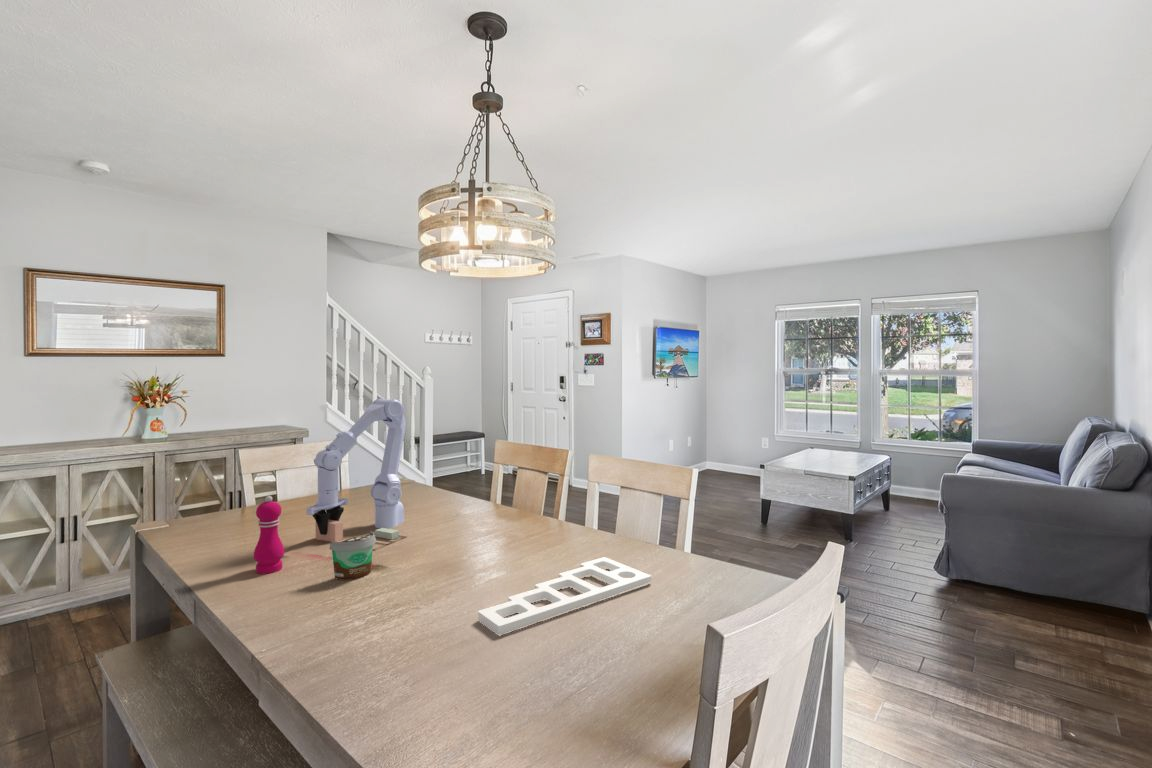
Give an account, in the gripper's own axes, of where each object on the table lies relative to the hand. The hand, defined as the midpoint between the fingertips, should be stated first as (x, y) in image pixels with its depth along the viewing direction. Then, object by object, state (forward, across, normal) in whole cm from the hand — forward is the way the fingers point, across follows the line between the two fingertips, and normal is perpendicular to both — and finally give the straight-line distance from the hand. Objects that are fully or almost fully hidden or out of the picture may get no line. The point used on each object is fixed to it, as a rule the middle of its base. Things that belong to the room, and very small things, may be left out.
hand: (328, 532), depth 172 cm
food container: (+4, +17, +28) cm, 33 cm away
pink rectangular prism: (+3, 0, 0) cm, 3 cm away
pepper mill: (+4, +23, +3) cm, 23 cm away
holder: (+4, +8, +82) cm, 82 cm away
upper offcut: (+2, -9, +15) cm, 18 cm away
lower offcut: (+4, -9, +15) cm, 18 cm away
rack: (+3, -4, +15) cm, 16 cm away
